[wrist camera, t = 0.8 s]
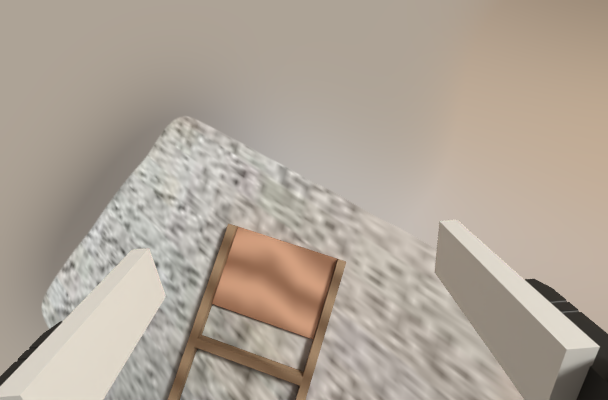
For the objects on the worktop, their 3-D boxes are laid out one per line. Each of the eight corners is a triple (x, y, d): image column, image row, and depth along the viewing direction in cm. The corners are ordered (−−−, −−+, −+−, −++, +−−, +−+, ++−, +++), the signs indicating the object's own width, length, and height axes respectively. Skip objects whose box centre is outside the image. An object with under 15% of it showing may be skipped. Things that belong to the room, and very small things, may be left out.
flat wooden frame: (272, 507, 40) (270, 518, 39) (151, 457, 42) (144, 466, 40) (345, 261, 44) (346, 262, 42) (231, 224, 45) (228, 224, 44)
